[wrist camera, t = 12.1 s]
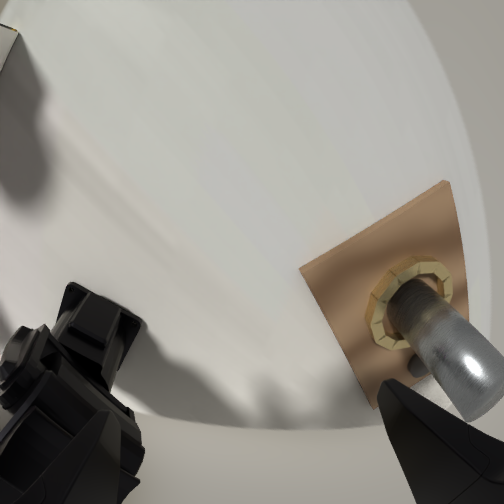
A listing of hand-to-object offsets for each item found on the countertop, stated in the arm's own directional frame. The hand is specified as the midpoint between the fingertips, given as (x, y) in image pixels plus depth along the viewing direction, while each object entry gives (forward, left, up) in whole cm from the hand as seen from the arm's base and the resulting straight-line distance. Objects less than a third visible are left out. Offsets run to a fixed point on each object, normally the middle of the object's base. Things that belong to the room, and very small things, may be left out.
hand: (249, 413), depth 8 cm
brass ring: (+4, -15, -12) cm, 20 cm away
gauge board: (+3, -17, -13) cm, 22 cm away
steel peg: (+4, -15, -12) cm, 20 cm away
